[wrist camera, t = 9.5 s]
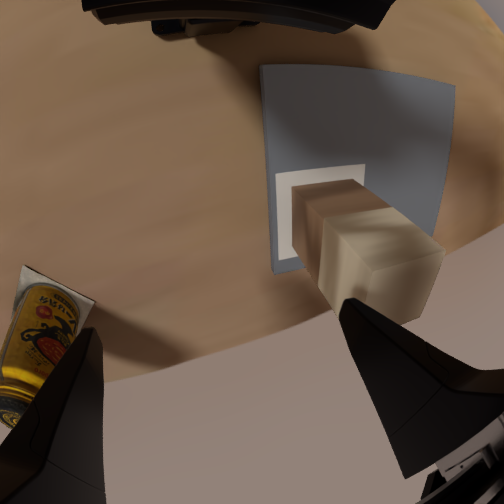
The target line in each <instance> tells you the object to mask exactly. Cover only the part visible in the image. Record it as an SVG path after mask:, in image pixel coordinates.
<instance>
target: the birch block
mask: <svg viewBox="0 0 504 504" xmlns="http://www.w3.org/2000/svg"><path fill="white" fill-rule="evenodd" d="M445 252H446V250H445V249H444V248H443V247H442V246H441V245H439V244H438V243H437V242H436V241H435V240H434V239H432V238H431V237H430V236H429V235H428V234H426V233H425V232H424V231H423V230H422V229H420V228H419V227H418V226H417V225H415V224H414V223H413V222H412V221H410V220H409V219H408V218H407V217H405V216H404V215H403V214H401V213H400V212H399V211H397V210H396V209H395V208H394V207H390V208H383V209H377V210H370V211H364V212H357V213H351V214H345V215H339V216H332V217H326V218H324V223H323V237H322V248H321V259H320V270H319V279H318V287H319V289H320V290H321V292H322V294H323V295H324V297H325V298H326V300H327V301H328V303H329V305H330V306H331V308H332V309H333V311H334V313H335V314H336V316H337V318H338V319H339V312H340V309H341V306H342V303H343V301H344V300H345V299H347V298H352V297H354V298H356V299H358V300H360V301H361V302H363V303H365V304H366V305H368V306H370V307H371V308H373V309H374V310H376V311H378V312H379V313H381V314H383V315H384V316H386V317H387V318H389V319H391V320H392V321H394V322H396V323H397V324H399V325H402V324H404V323H407V322H409V321H411V320H414V319H416V318H419V317H420V315H421V313H422V311H423V309H424V306H425V304H426V302H427V299H428V297H429V294H430V292H431V290H432V287H433V285H434V282H435V279H436V277H437V274H438V271H439V269H440V266H441V263H442V260H443V258H444V255H445Z"/></svg>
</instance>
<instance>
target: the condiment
mask: <svg viewBox="0 0 504 504" xmlns="http://www.w3.org/2000/svg"><path fill="white" fill-rule="evenodd" d="M94 303H95V302H94V301H92V300H89V299H88V298H85V297H83V296H82V295H80V294H77V293H76V292H74V291H72V290H70V289H68V288H66V287H65V286H63V285H61V284H59V283H56V282H54V281H53V280H50V279H49V278H47V277H45V276H43V275H40V274H37V273H36V272H34V271H32V270H30V269H29V268H27V267H25V266H24V265H23V266H22V270H21V275H20V279H19V283H18V288H17V293H16V297H15V301H14V307H13V312H12V318H11V324H10V327H9V329H8V332H7V335H6V338H5V340H4V343H3V346H2V349H1V352H0V421H1V423H3V424H5V425H6V426H7V427H8V428H11V429H13V428H14V426H15V425H16V423H17V422H18V421H19V419H20V418H21V416H22V415H23V413H24V412H25V410H26V409H27V407H28V406H29V404H30V403H31V401H32V400H34V397H35V395H36V394H37V392H38V390H39V389H40V387H41V386H42V384H43V383H44V381H45V380H46V379H47V377H48V376H49V374H50V373H51V371H52V370H53V368H54V367H55V366H56V364H57V363H58V361H59V360H60V358H61V357H62V356H63V354H64V353H65V352H66V350H67V349H68V347H69V346H70V345H71V343H72V342H73V341H74V339H75V338H76V337H77V335H78V334H79V333H80V331H81V328H82V326H83V324H84V322H85V320H86V318H87V316H88V314H89V312H90V310H91V308H92V306H93V304H94Z"/></svg>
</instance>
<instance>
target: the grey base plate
mask: <svg viewBox="0 0 504 504" xmlns="http://www.w3.org/2000/svg"><path fill="white" fill-rule="evenodd" d="M259 72H260V85H261V98H262V112H263V126H264V141H265V157H266V173H267V190H268V208H269V227H270V247H271V268H272V271H273V273H274V275H276V274H280V273H285V272H289V271H294V270H298V269H302V268H306V267H305V266H304V264H303V263H302V261H301V259H300V258H299V256H298V255H297V253H296V252H295V250H294V249H293V247H292V193H291V187H292V186H299V185H306V184H314V183H321V182H329V181H337V180H345V179H354V180H355V181H357V182H358V183H360V184H361V185H362V186H364V187H365V188H367V189H368V190H370V191H371V192H372V193H374V194H375V195H377V196H378V197H379V198H381V199H382V200H383V201H385V202H386V203H387V204H389V205H390V206H391V207H394V208H395V209H396V210H397V211H399V212H400V213H401V214H403V215H404V216H405V217H407V218H408V219H409V220H410V221H412V222H413V223H414V224H415V225H417V226H418V227H419V228H420V229H422V230H423V231H424V232H425V233H426V234H428V235H429V236H430V237H431V236H433V232H434V228H435V225H436V221H437V216H438V212H439V208H440V203H441V199H442V194H443V189H444V184H445V179H446V173H447V167H448V161H449V154H450V147H451V138H452V129H453V119H454V105H455V85H451V84H447V83H443V82H439V81H435V80H431V79H426V78H422V77H417V76H412V75H407V74H401V73H395V72H389V71H383V70H375V69H367V68H358V67H348V66H335V65H315V64H269V65H259Z"/></svg>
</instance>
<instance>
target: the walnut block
mask: <svg viewBox="0 0 504 504" xmlns="http://www.w3.org/2000/svg"><path fill="white" fill-rule="evenodd" d="M291 193H292V247H293V249H294V250H295V252H296V253H297V255H298V256H299V258H300V259H301V261H302V263H303V264H304V266H305V267H306V269H307V270H308V272H309V273H310V275H311V277H312V278H313V280H314V281H315V283H316V284H317V286H318V279H319V270H320V259H321V248H322V237H323V223H324V218H326V217H332V216H339V215H345V214H351V213H357V212H364V211H370V210H377V209H383V208H390V207H391V206H390V205H389V204H387V203H386V202H385V201H383V200H382V199H381V198H379V197H378V196H377V195H375V194H374V193H372V192H371V191H370V190H368V189H367V188H365V187H364V186H362V185H361V184H360V183H358V182H357V181H355V180H354V179H345V180H337V181H329V182H321V183H314V184H306V185H299V186H292V187H291Z"/></svg>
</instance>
